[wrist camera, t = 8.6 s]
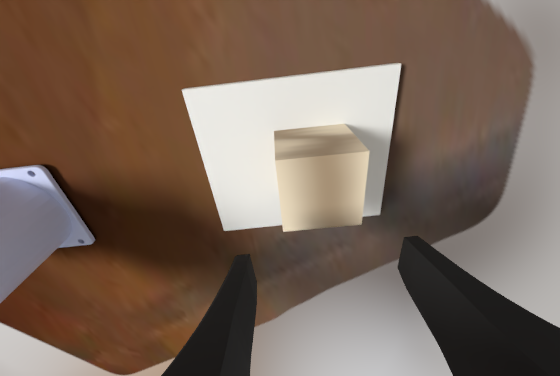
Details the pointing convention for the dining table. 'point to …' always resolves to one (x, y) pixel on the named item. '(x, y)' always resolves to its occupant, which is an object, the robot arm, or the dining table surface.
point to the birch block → (320, 177)
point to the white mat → (281, 116)
